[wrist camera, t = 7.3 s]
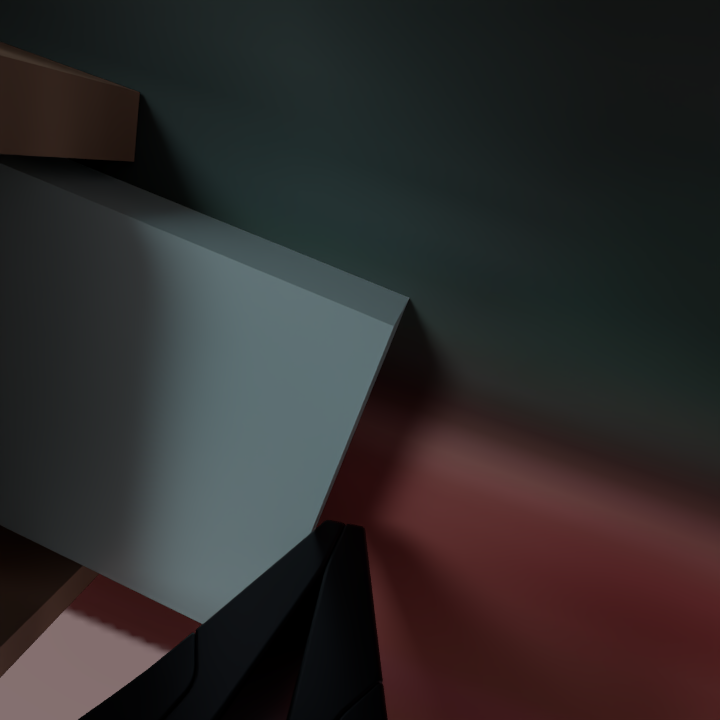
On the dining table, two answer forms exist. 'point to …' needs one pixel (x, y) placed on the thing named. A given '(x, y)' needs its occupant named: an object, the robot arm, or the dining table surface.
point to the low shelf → (66, 140)
